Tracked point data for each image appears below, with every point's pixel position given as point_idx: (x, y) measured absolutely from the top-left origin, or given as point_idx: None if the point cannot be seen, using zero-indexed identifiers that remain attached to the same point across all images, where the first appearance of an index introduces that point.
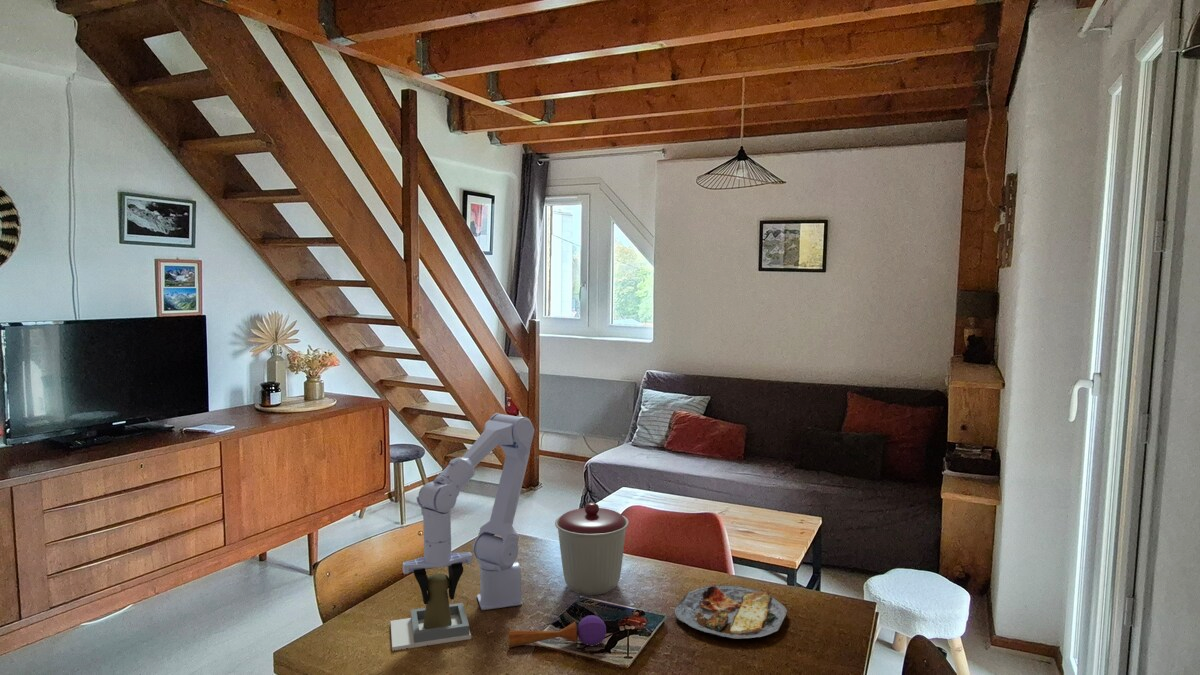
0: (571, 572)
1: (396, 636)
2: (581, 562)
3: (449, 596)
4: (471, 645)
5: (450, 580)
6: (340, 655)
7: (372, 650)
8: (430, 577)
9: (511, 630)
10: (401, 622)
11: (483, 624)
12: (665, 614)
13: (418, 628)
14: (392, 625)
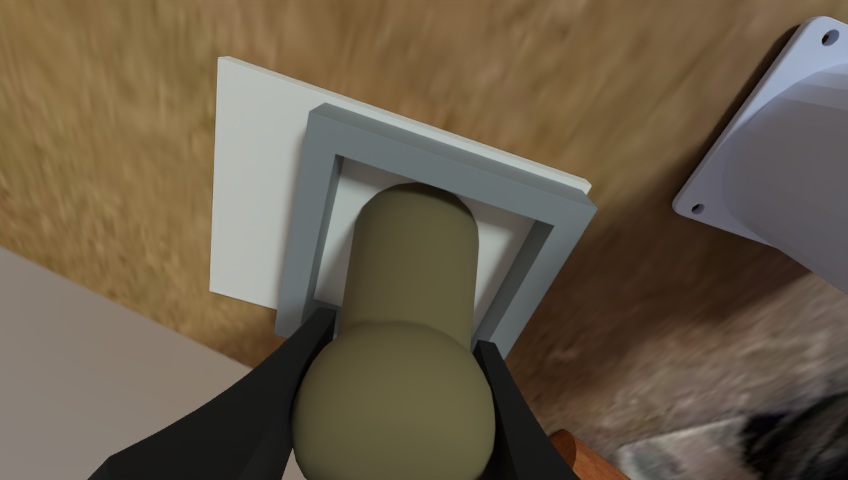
0: None
1: (232, 229)
2: None
3: (473, 354)
4: None
5: (484, 473)
6: (23, 204)
7: (146, 239)
8: (320, 471)
9: (576, 472)
10: (271, 115)
11: (582, 304)
12: None
13: (301, 310)
14: (223, 120)
